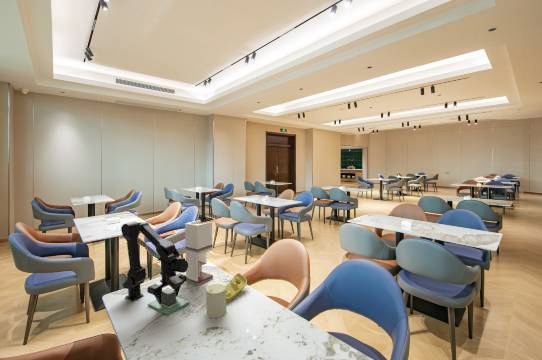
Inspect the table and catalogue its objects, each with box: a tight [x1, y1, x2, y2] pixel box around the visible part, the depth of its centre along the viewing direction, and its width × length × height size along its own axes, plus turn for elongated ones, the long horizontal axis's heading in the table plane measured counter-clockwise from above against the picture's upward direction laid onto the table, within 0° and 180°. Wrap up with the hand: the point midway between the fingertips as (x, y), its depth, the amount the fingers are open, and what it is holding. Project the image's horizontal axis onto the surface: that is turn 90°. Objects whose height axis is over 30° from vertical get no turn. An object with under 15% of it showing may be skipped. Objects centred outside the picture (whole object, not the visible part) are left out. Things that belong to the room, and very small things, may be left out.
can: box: [205, 283, 227, 319], centre depth 123 cm, size 9×9×12 cm
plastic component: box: [224, 272, 248, 303], centre depth 142 cm, size 20×7×10 cm
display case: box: [184, 219, 214, 286], centre depth 158 cm, size 11×11×35 cm
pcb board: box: [147, 296, 190, 316], centre depth 131 cm, size 16×12×4 cm
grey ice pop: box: [161, 287, 176, 306], centre depth 132 cm, size 10×4×6 cm, turn 57°
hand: (168, 300), depth 131 cm, fingers open, 9 cm apart
